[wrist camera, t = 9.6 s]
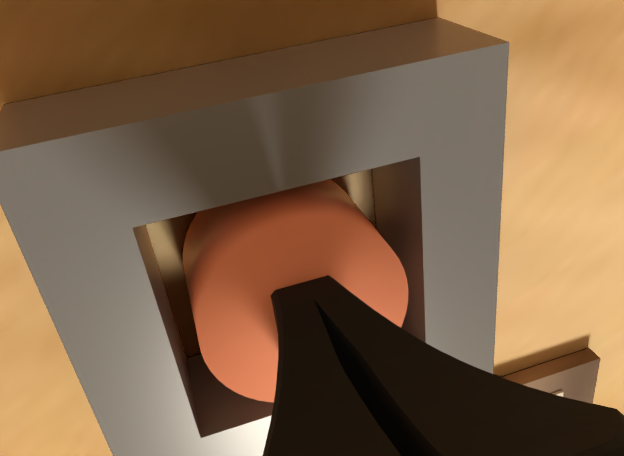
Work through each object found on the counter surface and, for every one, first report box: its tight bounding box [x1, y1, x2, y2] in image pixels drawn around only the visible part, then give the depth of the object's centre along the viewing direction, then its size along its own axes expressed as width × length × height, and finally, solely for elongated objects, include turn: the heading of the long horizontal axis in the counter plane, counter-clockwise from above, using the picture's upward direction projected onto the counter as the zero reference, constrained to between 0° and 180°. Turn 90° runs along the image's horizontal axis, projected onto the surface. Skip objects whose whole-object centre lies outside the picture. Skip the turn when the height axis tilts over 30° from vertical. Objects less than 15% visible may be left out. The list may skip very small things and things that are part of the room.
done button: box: [183, 179, 408, 402], centre depth 14 cm, size 5×5×3 cm
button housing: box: [0, 17, 509, 456], centre depth 15 cm, size 10×10×3 cm
